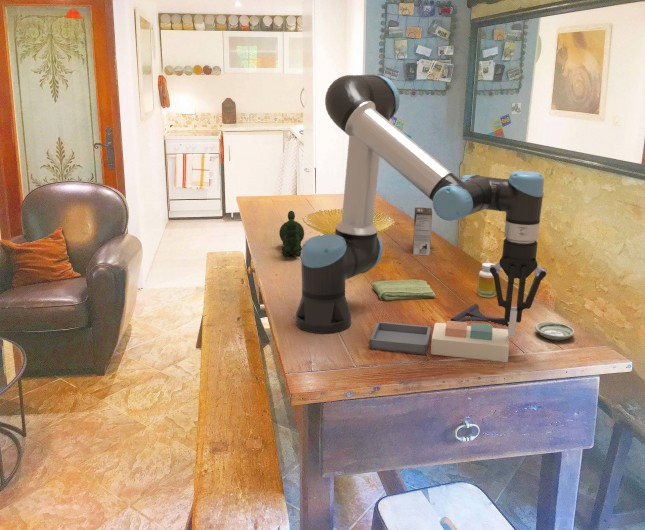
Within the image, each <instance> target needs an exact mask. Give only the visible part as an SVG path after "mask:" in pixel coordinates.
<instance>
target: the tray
mask: <svg viewBox="0 0 645 530" xmlns="http://www.w3.org/2000/svg"><path fill="white" fill-rule="evenodd" d="M431 331H432V326H430V325H429V326H427V325H418V324H407V323H396V322H387V321H376V324H375V326H374V329H373V331H372V333H371V335H370V337H369V343H368V344H369V346H368V349H369V350H376V351H384V352H385V351H386V352H396V353H406V354H415V355H422V356H423V355H425V356H427V353H428V349H429V346H430V341H431V337H432V336H431V335H432V333H431Z"/></svg>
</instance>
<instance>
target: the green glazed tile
mask: <svg viewBox="0 0 645 530" xmlns="http://www.w3.org/2000/svg"><path fill="white" fill-rule="evenodd" d="M470 326H471V335H470V338H474V339H484V340H492V328H493V324H489V323H488V324H487V323H478V322H477V323H476V322H471V323H470Z"/></svg>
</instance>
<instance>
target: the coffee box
mask: <svg viewBox="0 0 645 530" xmlns="http://www.w3.org/2000/svg"><path fill="white" fill-rule="evenodd" d="M413 215H414V218H413V237H412V238H413V239H412V240H413V241H412V242H413V244H412V246H413V247H412V249H413V250H412V251H413V252H412V253H413V255H414V256H415V255H417V256H431V244H432V241H431V239H432V224H433V211H432V207H414V214H413Z"/></svg>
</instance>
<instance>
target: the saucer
mask: <svg viewBox="0 0 645 530" xmlns="http://www.w3.org/2000/svg"><path fill="white" fill-rule="evenodd" d="M534 329H535V331H536V332H537V333H538V334H539V335H541V336H542V337H544V338H545V339H547V340H550V341H563V340H567V339H569V338H571V337H573V336H575V329H574V328H573V327H572V326H569V325H568V324H564V323H561V322H556V321H541V322H538V323H536V324H535V325H534Z"/></svg>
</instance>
